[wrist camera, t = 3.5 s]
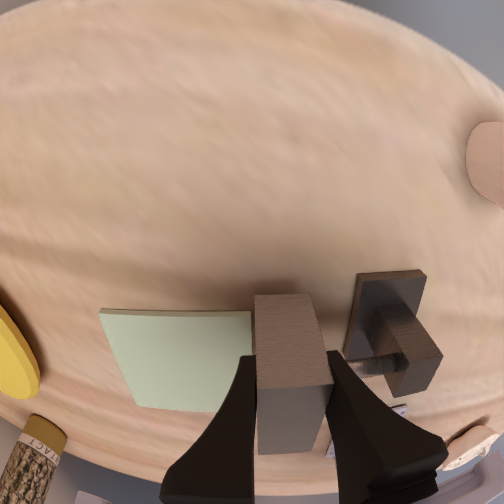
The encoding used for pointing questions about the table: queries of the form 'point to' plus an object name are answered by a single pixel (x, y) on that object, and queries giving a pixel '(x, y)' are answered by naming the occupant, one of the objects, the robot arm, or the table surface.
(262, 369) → the grey hollow frame block
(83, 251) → the table surface
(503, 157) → the white cup
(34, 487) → the paper tube
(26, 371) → the vase
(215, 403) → the coaster
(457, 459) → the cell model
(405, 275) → the post
